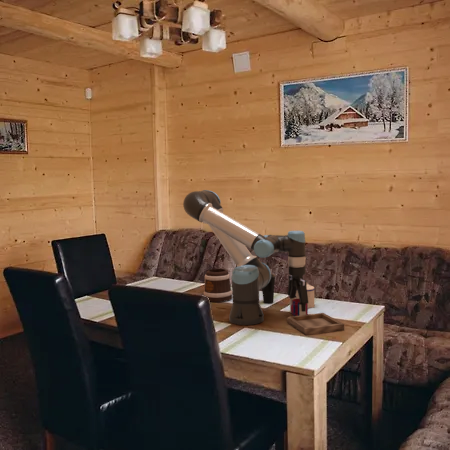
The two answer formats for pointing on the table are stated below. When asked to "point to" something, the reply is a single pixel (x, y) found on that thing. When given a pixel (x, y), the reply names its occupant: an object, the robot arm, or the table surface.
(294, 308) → the cup
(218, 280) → the mug
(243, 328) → the table surface
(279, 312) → the table surface
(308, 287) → the teacup with lid
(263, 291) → the drinking cup
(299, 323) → the walnut tray
